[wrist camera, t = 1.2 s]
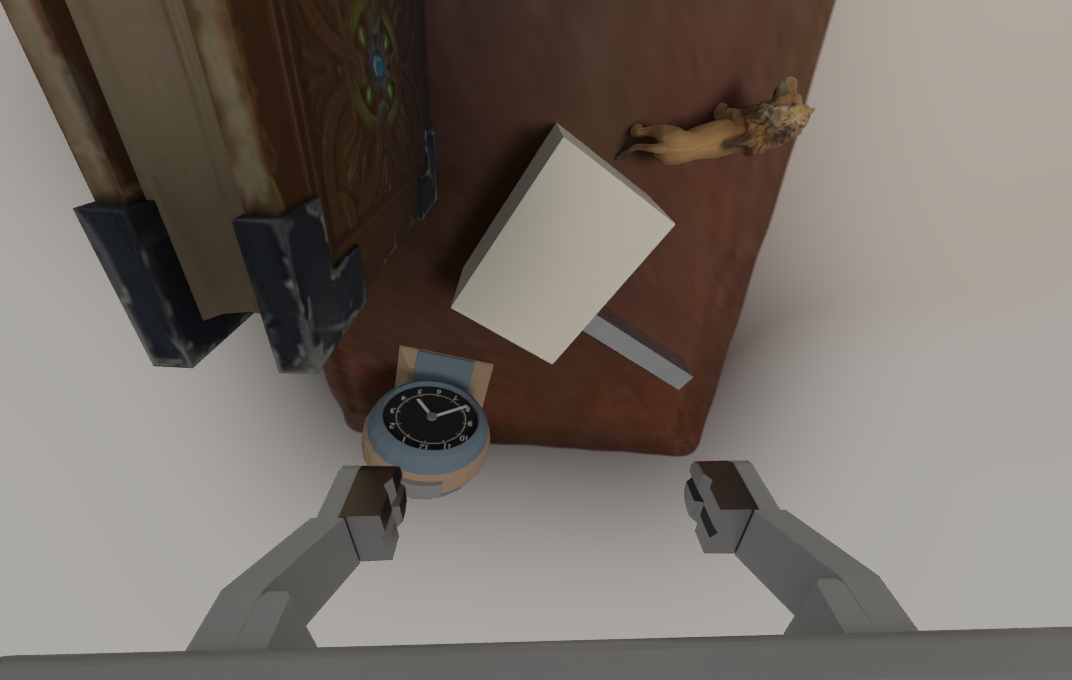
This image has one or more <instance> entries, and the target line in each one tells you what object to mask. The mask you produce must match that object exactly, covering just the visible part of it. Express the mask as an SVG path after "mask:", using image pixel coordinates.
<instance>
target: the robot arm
mask: <svg viewBox="0 0 1072 680" xmlns="http://www.w3.org/2000/svg"><path fill="white" fill-rule="evenodd" d="M690 473H691V476H692V478H691V479H689V480H688V481H687V482H686V486H685V490H684V494H685V496H684V497H685V504H686V508H687V511H688V513H689V516H690V517H691V518H692V519H694V520H695V521H696V522H697V526H696V529H695V532H696V534H697V537H698V539H699V542H700V544H701V547H702V549H703V552H704V553H736V554H735V556H737V558H739V560H741V562H743V564H744V565H745V566H747V568H748V569H749V570H750V571H751V572H752V573H753V574H754V575H755V576H756V577H757V578H758V579H759V580H760V581H761V582H762V583H763V584H764V585H765V586H766V587H767V588H768V589H769V590H770V591H771V592H772V593H773V594H774V595H775V596H776V597H777V598H778V599H779V600H780V601H781V602H782V603H783V604H784V605H785V606H786V607H787V608H788V609H789V610H790V611H791V612H792V613H793V614H794V615H795V616H794V618H793V619H792V621H791V623H790V624H789V626H788V627H787V629H786V631H785V633H784V635H761V636H760V635H759V636H758V635H757V636H723V637H722V636H721V637H684V638H648V639H647V638H646V639H608V640H572V641H538V642H537V641H536V642H503V643H465V644H432V645H431V644H430V645H429V644H428V645H394V646H356V647H320V648H317V646H316V644H315V642H314V640H313V638H312V636H311V634H310V632H309V631H308V629H307V627H306V625H307V624H308V623H309V621H310V620H311V619H312V618H313V617H314V616H315V615H316V613H317V612H318V611H319V610H320V609H321V608H322V606H323V605H324V604H325V603H326V602H327V601H328V600H329V598H330V597H331V596H332V595H333V594H334V593H335V591H336V590H337V589H338V588H339V587H340V586H341V585H342V583H343V582H344V581H345V580H346V579H347V578H348V576H349V575H350V574H351V573H352V572H353V571H354V570H355V568H356V567H357V566H358V565H359V564H360V562H359V561H377V560H392V559H393V556H394V552H395V549H396V544H397V541H398V538H399V534H398V530H397V526H398V525H400V523H402V522H403V519H404V515H405V510H406V502H407V496H406V488H405V486H404V485H403V484H402V483H401V479H402V471H401V467H399V466H343V467H342V468H341V469H340V470H339V471H338V473H337V476H336V478H335V480H334V482H333V484H332V486H331V488H330V490H329V492H328V495H327V497H326V499H325V501H324V503H323V505H322V507H321V509H320V512H319V514H318V516H317V518H310V519H309V520H308V521H307V522H305V523H304V524H303V525H302V526H301V527H299V528H298V529H297V530H296V531H294V532H293V533H292V534H291V535H289V536H288V537H287V538H286V539H284V540H283V541H282V542H281V543H279V544H278V545H277V546H276V547H275V548H273V549H272V550H271V551H270V552H268V553H267V554H266V555H265V556H263V557H262V558H261V559H260V560H259V561H257V562H256V563H255V564H253V565H252V566H251V567H250V568H249V569H247V570H246V571H245V572H244V573H242V574H241V575H240V576H239V577H237V578H236V579H235V580H234V581H232V582H231V583H230V584H229V585H227V586H226V587H225V588H224V589H223V590H221V592H220V594H219V595H218V597H217V599H216V600H215V602H214V604H213V605H212V607H211V609H210V611H209V612H208V614H207V615H206V617H205V619H204V620H203V622H202V624H201V626H200V627H199V629H198V631H197V632H196V634H195V636H194V637H193V639H192V641H191V643H190V644H189V646H188V647H187V649H186V651H174V652H173V651H172V652H137V653H136V652H134V653H97V654H58V655H16V656H3V657H0V680H1072V627H1049V628H1048V627H1047V628H1046V627H1045V628H1010V629H973V630H938V631H918V629H917V628H916V627H915V626H914V624H913V622H912V621H911V620H910V618H909V617H908V616H907V614H906V613H905V611H904V610H903V609H902V607H901V606H900V605H899V603H898V602H897V600H896V599H895V598H894V596H893V595H892V593H891V592H890V591H889V589H888V588H887V587H886V585H885V584H884V582H883V581H882V580H881V578H880V577H879V576H878V575H877V574H875V573H874V572H872V571H871V570H870V569H868V568H867V567H865V566H864V565H863V564H861V563H860V562H858V561H857V560H856V559H854V558H853V557H851V556H850V555H848V554H847V553H846V552H844V551H843V550H842V549H840V548H839V547H837V546H836V545H834V544H833V543H832V542H830V541H829V540H827V539H826V538H825V537H823V536H822V535H820V534H819V533H818V532H816V531H815V530H813V529H812V528H811V527H809V526H808V525H806V524H805V523H803V522H802V521H801V520H799V519H798V518H796V517H795V516H794V515H792V514H791V513H789V512H788V511H786V510H780V509H779V507H778V505H777V504H776V502H775V501H774V499H773V497H772V496H771V494H770V492H769V491H768V489H767V488H766V486H765V484H764V483H763V481H762V480H761V478H760V476H759V475H758V473H757V471H756V470H755V468H754V467H753V465H752V463H750V462H749V461H697V462H694V463H693V464H692V465H691V468H690Z"/></svg>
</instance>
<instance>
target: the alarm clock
mask: <svg viewBox="0 0 1072 680" xmlns="http://www.w3.org/2000/svg"><path fill="white" fill-rule="evenodd" d="M493 365H494V364H492V363H487V362H482V361H477V360H472V359H467V358H462V357H457V356H452V355H447V354H442V353H437V352H432V351H427V350H422V349H417V348H413V347H408V346H403V345H400V346H399V355H398V364H397V373H396V382H395V388H393V389H391V390H390V391H389V392H388V393H387V394H385V395H384V396H383V397H382V398H380V399H379V400H378V401H377V403H376V404H375V406H374V407H373V409H372V410H371V411H370V413H369V414H368V416H367V417H366V420H365V424H364V428H363V434H362V449H363V458H364V460H365V462H366V464H367V466H399V467H401V471H402V479H401V483H402V484H403V485H404V486H405V488H406V496H407V497H409V498H413V499H432V498H438V497H442V496H445V495H447V494H450V493H452V492H454V491H457V490H458V489H460V488H461V487H462V486H464V485H465V484H466V483H467V482H469V481H470V480H471V479H472V478H473V477H474V476H476V474H477V473H478V471H479V470H480V468H481V467H482V465H483V463H484V460H485V456H486V453H487V449H488V446H489V442H490V431H489V426H488V424H487V418H486V416H485V414H484V411H483V409H482V407H483V403H484V400H485V396H486V392H487V388H488V384H489V381H490V377H491V373H492V369H493Z"/></svg>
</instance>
